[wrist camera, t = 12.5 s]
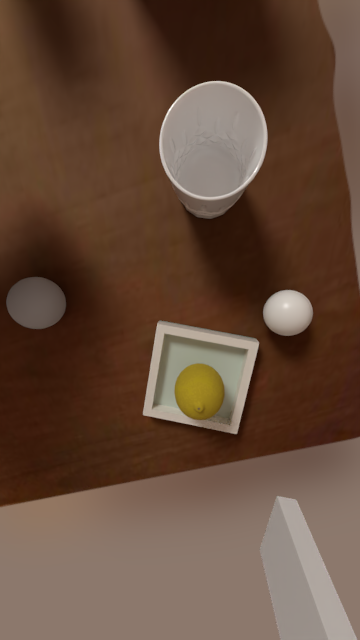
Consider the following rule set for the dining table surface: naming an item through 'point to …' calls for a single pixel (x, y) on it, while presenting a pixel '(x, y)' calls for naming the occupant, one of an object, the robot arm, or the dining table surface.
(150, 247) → the dining table surface
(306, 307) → the white plastic ball
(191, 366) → the lemon
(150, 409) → the square dish
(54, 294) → the grey rubber ball
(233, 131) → the white cup
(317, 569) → the robot arm
